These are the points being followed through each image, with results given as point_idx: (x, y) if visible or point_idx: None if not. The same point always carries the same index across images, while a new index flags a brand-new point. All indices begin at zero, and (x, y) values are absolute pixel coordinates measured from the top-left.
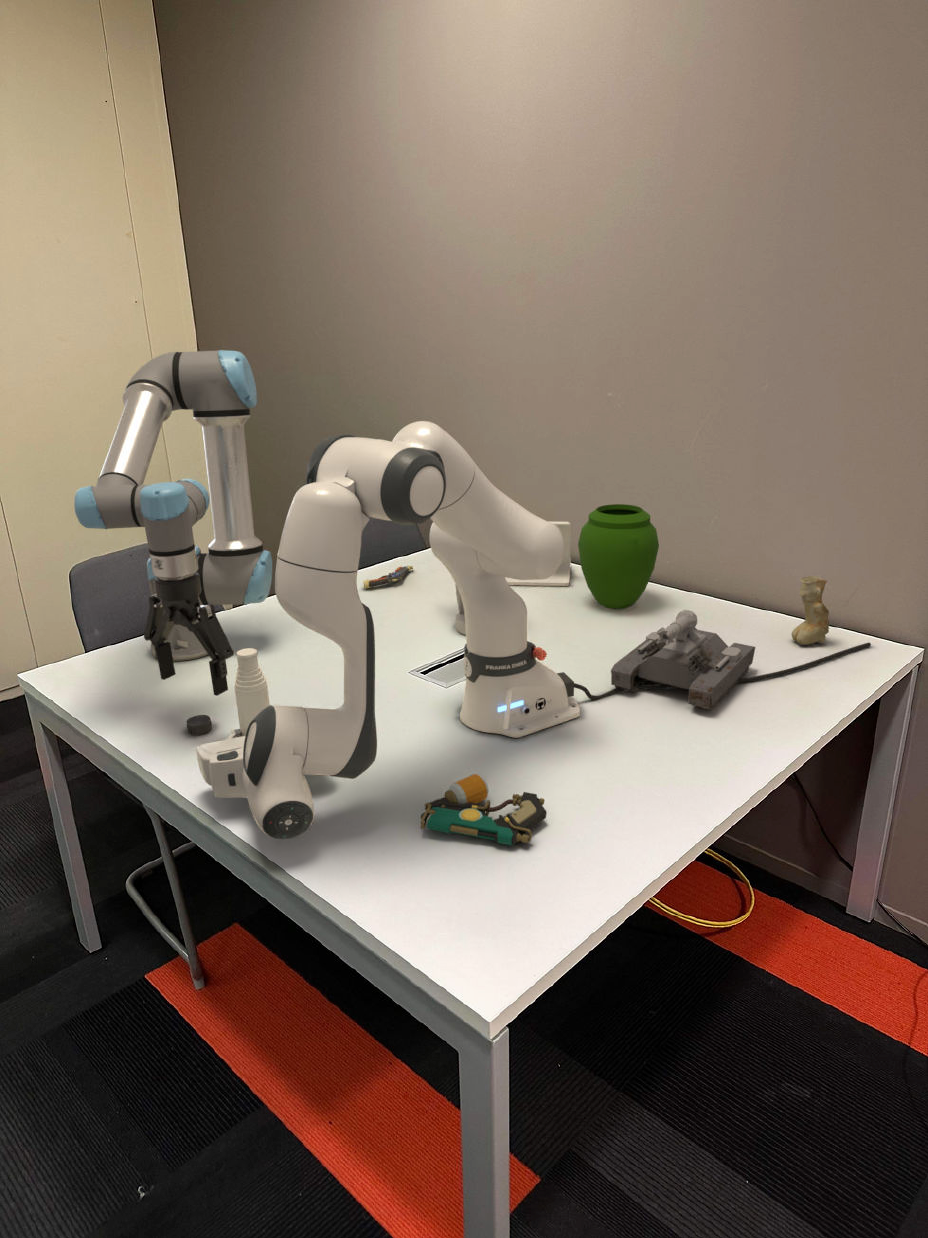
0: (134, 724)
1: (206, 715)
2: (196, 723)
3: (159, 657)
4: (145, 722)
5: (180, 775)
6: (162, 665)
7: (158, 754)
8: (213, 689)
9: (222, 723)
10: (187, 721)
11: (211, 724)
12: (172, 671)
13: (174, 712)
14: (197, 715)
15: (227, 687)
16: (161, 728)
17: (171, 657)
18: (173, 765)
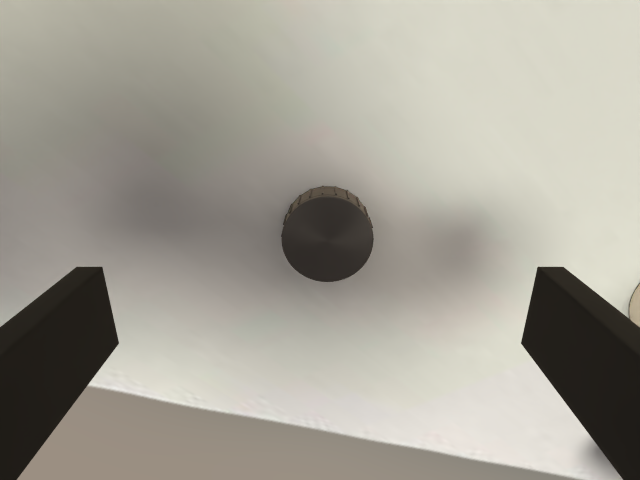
0: None
1: (325, 198)
2: (342, 263)
3: (15, 468)
4: (112, 273)
5: (476, 425)
6: (65, 404)
7: (333, 383)
8: (541, 366)
9: (364, 150)
10: (298, 267)
11: (359, 202)
12: (90, 296)
13: (126, 172)
14: (292, 215)
15: (571, 276)
16: (199, 278)
17: (23, 347)
18: (420, 402)
